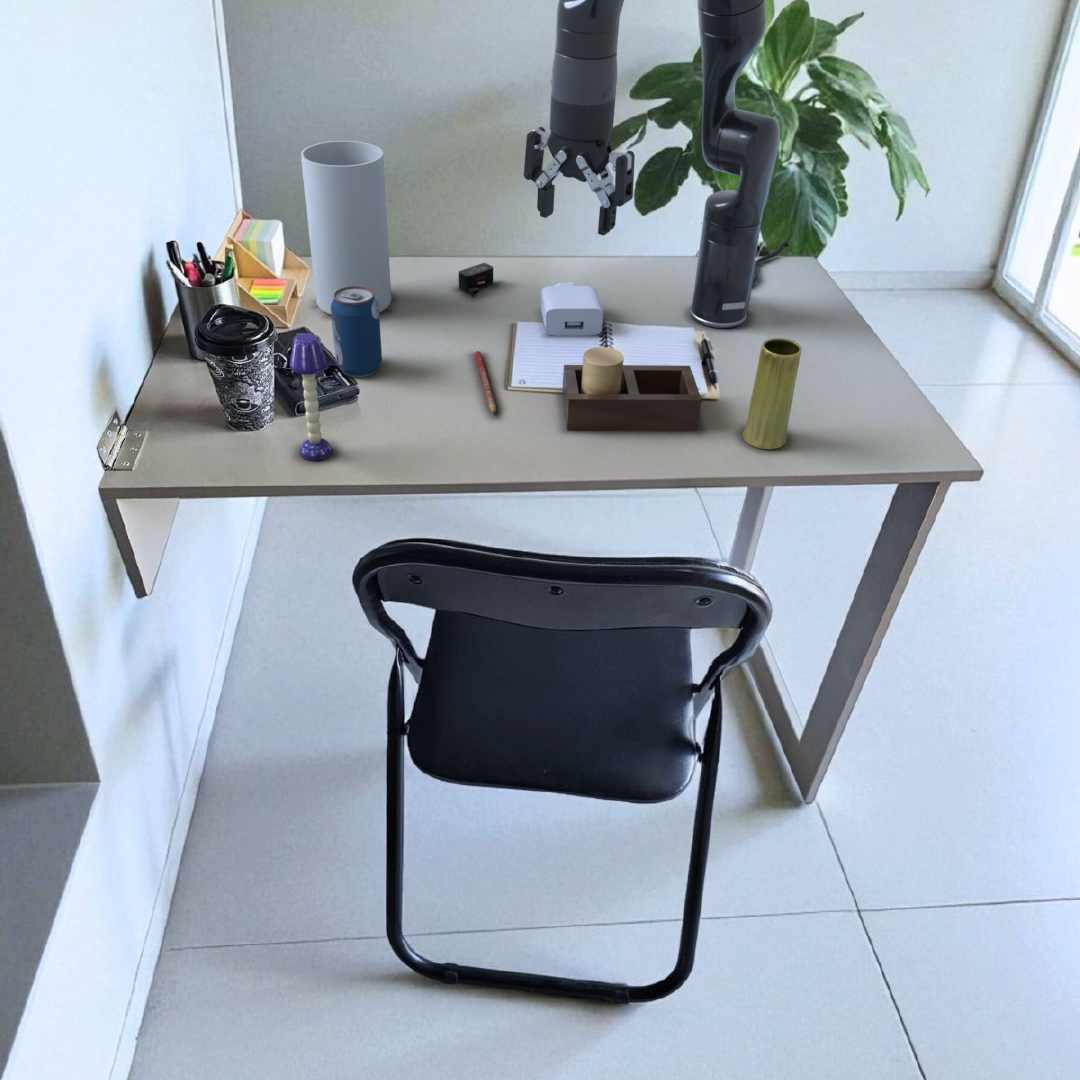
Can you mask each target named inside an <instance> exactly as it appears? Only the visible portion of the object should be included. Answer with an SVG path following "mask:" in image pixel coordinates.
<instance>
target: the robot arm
mask: <svg viewBox="0 0 1080 1080" xmlns="http://www.w3.org/2000/svg"><path fill="white" fill-rule="evenodd" d="M624 2H625V0H558V2H557V8H556V21H555V22H556V23H555V24H556V26H555V27H556V28H555V46H554V47H555V48H554V56H553V61H552V69H551V80H550V85H551V87H550V107H549V130H550V133H549V132H547V131H546V129H545V128H544V127H543V126H539V127H536V128H534V129H533V130H531V131H530V132H528V133H527V134H526V142H525V152H524V153H525V154H524V167H523V177H524V179H525V180H527V181H530V180H531V181H532V182H533V183H535V186H536V187H537V200H536V201H537V203H536V209H537V211H538V212H539V216H540V217H541V218H545V219H547V218H548V217H550V216H551V215H553V212H554V209H555V190H556V189H555V188H556V185H555V184H553V182H554V181H555V180H556V179H557V178H558V177H559V176H560V174H562V177H565V178H568V179H569V178H570V179H571V178H572V179H573V178H574V179H576V180H577V181H579V182H582V183H587V184H588V186H589V188H590V191H592V192H593V193H595V194H596V196H597V198H598V200H599V202H600V206H599V212H598V213H599V214H598V224H597V225H598V226H597V234H598V235H600V236H606V235H607V234H609V233H610V232H611V231H612V230H613V229H615V226H616V221H617V210H618V208H619V207H620V208H621V207H622V206H624V205H626V204H627V203H628V202H630V201H631V200H632V199H633V198H634V183H635V182H634V181H635V158H636V156H635V153H634V151H632V150H627V151H626V152H620V151H615V150H614V149H613V148H612V142H611V140H612V135H613V132H614V119H615V107H616V96H617V93H616V92H617V84H618V44H619V31H620V20H621V19H620V17H621V14H622V10H623V6H624ZM697 17H698V28H699V29H698V30H699V39H700V50H701V68H702V69H701V70H702V72H701V73H702V103H701V104H702V107H701V108H702V110H701V151H702V157H703V160H704V162H705V164H706V165H707V166H708V167H710V169H713V170H716V171H719V172H721V173H724V174H725V173H726V174H730V175H733V176H737V177H740V180H739V184H738V187H737V188H731V189H724V190H723V189H722V190H719V191H715V192H713V193H711V194H710V195H709V196H707V198H706V200H705V204H704V209H703V210H704V211H703V217H702V226H701V232H700V233H701V234H700V240H699V241H700V242H699V249H698V255H697V256H698V257H697V258H698V259H697V263H696V271H695V279H694V286H693V293H692V300H691V307H690V312H689V315H690V317H691V319H693V320H694V321H695V322H696V323H699V324H701V325H703V326H706V327H711V328H717V329H731V328H736V327H739V326H741V325H743V324H745V322H746V319H747V315H748V313H749V307H750V302H751V294H752V289H753V287H754V285H755V284H756V283H757V281H758V277H759V276H758V271H757V267H758V265H759V264H761V263H763V262H765V261H768V260H770V259H772V258H774V257H776V256H778V255H779V254H780V253H781V252H782V250H783V249H784V247H789V242H788V241H787V240H785V241H783V242H782V243H780V245H779V246H778V248H777V249H776V250H775V251H773V252H771V253H769V254H766V255H764V256H762V257H760V258H758V259H756V257H757V251H758V245H759V239H760V233H761V226H762V220H763V216H764V210H765V207H766V205H767V204H766V203H767V201H768V198H769V193H770V188H771V184H772V179H773V175H774V170H775V165H776V161H777V158H778V152H779V149H780V148H779V147H780V140H781V129H780V125H779V122H778V120H777V119H776V118H774V116H773V117H772V116H770V115H767V114H761V113H757V112H753V111H748V110H744V109H739V108H738V106H737V105H736V101H735V99H736V98H735V97H736V96H735V93H736V91H735V90H736V84H737V81H738V78H739V77H740V75H741V73H742V71H743V70H744V68H745V67H746V65H747V64H748V62H749V61H750V60H751V58H752V57H753V55H754V54H755V52H756V50H757V49H758V48H759V46H760V44H761V42H762V40H763V37H764V35H765V32H766V29H767V28H766V27H767V0H697ZM546 148H548V150H549V152H550V154H551V157H552V158H553V159H552V160H551V161H550V162H549V163H548V164H547V166H546V167H545V168H544V169H543V165H544V155H545V149H546ZM609 163H611V165H612V171H613V172H615V175H614V176H615V177H613V174H612V173H611V171H610V168H609V166H608V164H609ZM598 176H599V177H600V179H599V178H598Z"/></svg>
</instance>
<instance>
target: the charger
mask: <svg viewBox="0 0 1080 1080" xmlns="http://www.w3.org/2000/svg"><path fill="white" fill-rule="evenodd" d="M540 292H541V294H540V310H541V316H542V320H543V325H544V326H543V327H544V331H545V333H546V334H547V335H548V336H555V337H566V336H567V337H572V336H578V337H579V336H582V337H583V336H587V337H588V336H597V335H599V334H601V333H602V331H603V321H604V320H603V319H604V311H603V308H602V304H601V302H600V301H601V300H600V298H599V295H598V291H597V289H596V288H595V287H594V286H591V285H578V284H577V283H574V282H561V281H559V282H558V283H556V284H554V285H550V286H549V285H548V286H545V287H543V288H541V291H540Z"/></svg>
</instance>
